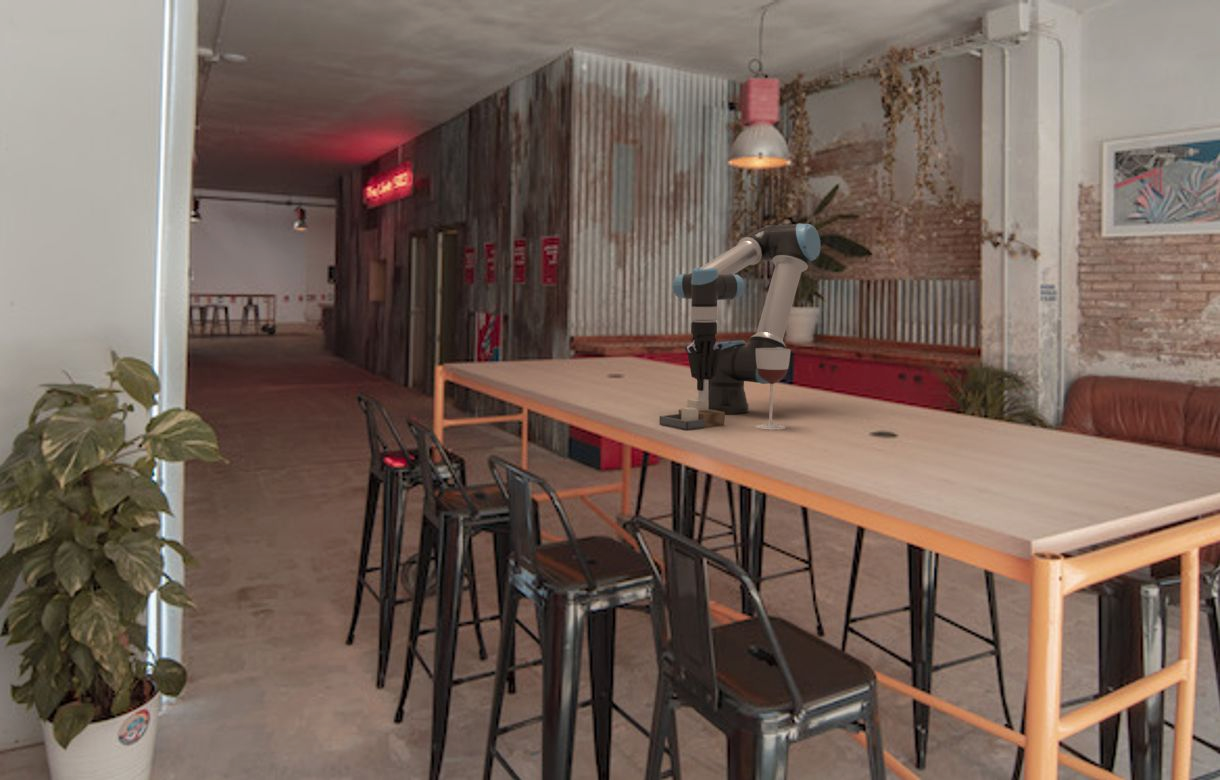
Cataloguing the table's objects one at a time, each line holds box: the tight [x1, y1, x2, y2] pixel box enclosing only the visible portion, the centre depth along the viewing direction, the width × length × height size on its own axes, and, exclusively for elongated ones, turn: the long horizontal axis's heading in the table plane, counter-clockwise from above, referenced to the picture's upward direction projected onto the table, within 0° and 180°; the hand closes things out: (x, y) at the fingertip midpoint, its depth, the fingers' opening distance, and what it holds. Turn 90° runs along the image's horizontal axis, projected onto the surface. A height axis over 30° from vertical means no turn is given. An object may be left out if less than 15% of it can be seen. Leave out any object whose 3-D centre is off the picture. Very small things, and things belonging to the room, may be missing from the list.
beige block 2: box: [681, 406, 699, 421], centre depth 246 cm, size 5×4×3 cm
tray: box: [659, 413, 706, 431], centre depth 248 cm, size 7×12×3 cm, turn 37°
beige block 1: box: [686, 398, 709, 411], centre depth 254 cm, size 5×4×3 cm
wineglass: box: [755, 348, 792, 430], centre depth 247 cm, size 9×10×23 cm
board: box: [678, 408, 726, 429], centre depth 252 cm, size 8×11×4 cm
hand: (703, 401), depth 249 cm, fingers closed
